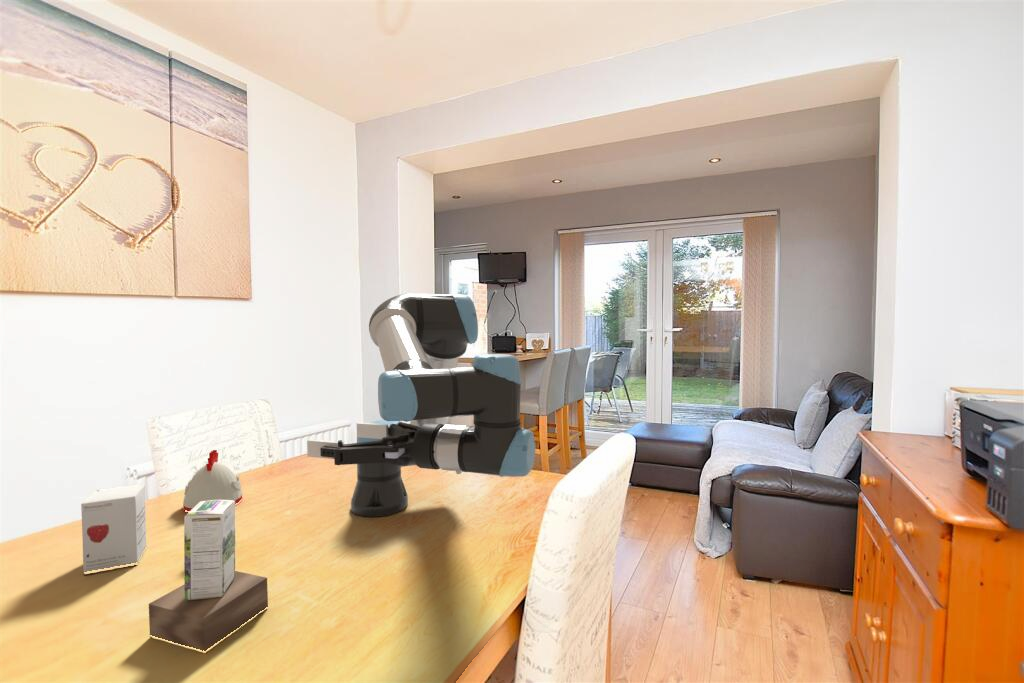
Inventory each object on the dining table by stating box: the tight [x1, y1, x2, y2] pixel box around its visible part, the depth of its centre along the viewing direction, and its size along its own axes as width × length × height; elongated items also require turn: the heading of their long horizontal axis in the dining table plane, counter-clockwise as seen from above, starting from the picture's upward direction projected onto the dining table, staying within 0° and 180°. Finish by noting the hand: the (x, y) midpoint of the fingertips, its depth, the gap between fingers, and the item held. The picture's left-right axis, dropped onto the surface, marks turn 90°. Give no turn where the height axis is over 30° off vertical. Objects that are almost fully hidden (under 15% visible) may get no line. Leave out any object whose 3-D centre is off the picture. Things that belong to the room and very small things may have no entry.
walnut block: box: [148, 570, 269, 651], centre depth 80 cm, size 12×12×6 cm
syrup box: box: [183, 500, 236, 600], centre depth 79 cm, size 6×6×14 cm
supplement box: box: [80, 483, 147, 573], centre depth 100 cm, size 9×9×15 cm
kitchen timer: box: [182, 449, 243, 511], centre depth 131 cm, size 14×14×15 cm
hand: (335, 438), depth 85 cm, fingers open, 13 cm apart
